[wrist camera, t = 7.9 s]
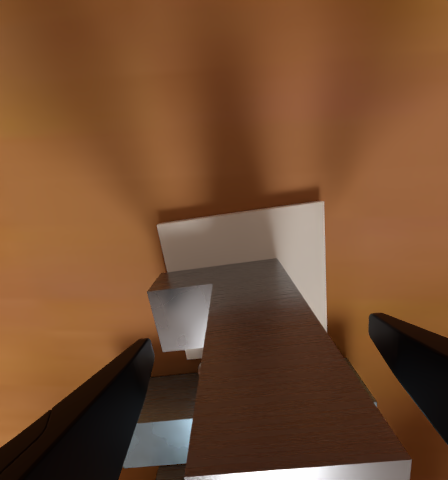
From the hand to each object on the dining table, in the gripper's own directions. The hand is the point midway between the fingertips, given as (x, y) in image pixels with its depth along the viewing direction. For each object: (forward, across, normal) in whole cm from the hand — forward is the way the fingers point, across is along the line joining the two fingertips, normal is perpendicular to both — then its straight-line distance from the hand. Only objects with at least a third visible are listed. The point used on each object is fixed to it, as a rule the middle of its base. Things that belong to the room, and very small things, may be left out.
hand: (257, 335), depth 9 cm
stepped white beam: (+4, 0, 0) cm, 4 cm away
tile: (+4, 0, 0) cm, 4 cm away
